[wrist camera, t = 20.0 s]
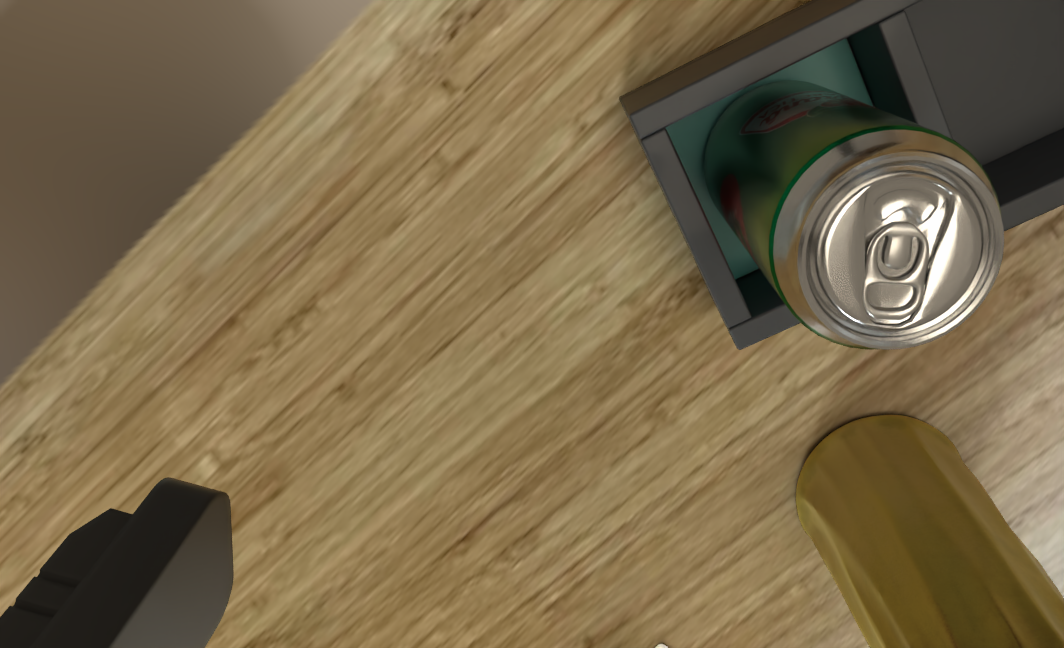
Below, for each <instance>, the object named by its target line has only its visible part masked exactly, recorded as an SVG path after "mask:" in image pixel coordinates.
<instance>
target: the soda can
mask: <svg viewBox="0 0 1064 648" xmlns="http://www.w3.org/2000/svg"><path fill="white" fill-rule="evenodd" d="M704 175H705V182H706V186H707V189H708V192H709V195H710V197H711V199H712V201H713V203H714V205H715V207H716V208H717V209H718V211H719V212H720V214H721V215H722V217H723V218H724V219H725V221H726V222H727V224H728V225H729V226H730V228H731V229H732V231H733V232H734V233H735V235H736V236H737V238H738V239H739V240H740V242H741V243H742V245H743V246H744V247H745V249H746V250H747V252H748V253H749V255H750V256H751V257H752V259H753V260H754V262H755V263H756V264H757V266H758V267H759V269H760V270H761V271H762V273H763V274H764V276H765V277H766V278H767V280H768V281H769V283H770V284H771V285H772V287H773V288H774V290H775V291H776V293H777V294H778V295H779V297H780V298H781V300H782V301H783V302H784V304H785V305H786V306H787V308H788V309H789V310H790V312H791V313H792V315H794V316H795V317H796V318H797V319H798V320H799V321H800V322H801V323H802V324H803V325H804V326H805V327H807V328H808V329H810V330H811V331H813V332H814V333H815V334H817V335H818V336H821V337H823V338H825V339H827V340H829V341H831V342H833V343H837V344H840V345H844V346H847V347H852V348H860V349H903V348H909V347H915V346H918V345H922V344H925V343H928V342H931V341H933V340H935V339H937V338H939V337H942V336H944V335H946V334H947V333H949V332H950V331H952V330H953V329H955V328H956V327H958V326H959V325H961V324H962V323H963V322H964V321H965V320H966V319H967V318H969V317H970V316H971V315H972V314H973V313H974V312H975V310H976V309H977V308H978V307H979V306H980V305H981V303H982V302H983V301H984V299H985V298H986V296H987V295H988V293H989V291H990V290H991V288H992V286H993V284H994V282H995V279H996V277H997V275H998V272H999V269H1000V265H1001V262H1002V257H1003V249H1004V230H1003V223H1002V219H1001V210H1000V205H999V201H998V196H997V193H996V191H995V188H994V186H993V183H992V181H991V179H990V177H989V175H988V174H987V172H986V171H985V169H984V168H983V166H982V165H981V163H980V162H979V161H978V160H977V159H976V158H975V157H974V156H973V155H972V154H971V153H970V152H969V151H968V150H967V149H965V148H964V147H963V146H961V145H960V144H959V143H957V142H956V141H955V140H953V139H951V138H949V137H947V136H945V135H943V134H941V133H939V132H936V131H934V130H931V129H929V128H926V127H923V126H921V125H918V124H916V123H913V122H911V121H908V120H906V119H903V118H901V117H898V116H896V115H893V114H891V113H888V112H886V111H883V110H880V109H878V108H875V107H873V106H870V105H868V104H865V103H863V102H860V101H858V100H855V99H853V98H850V97H848V96H845V95H842V94H840V93H837V92H835V91H832V90H830V89H827V88H825V87H822V86H820V85H816V84H813V83H810V82H805V81H797V80H784V81H777V82H772V83H768V84H765V85H762V86H759V87H756V88H754V89H753V90H751V91H749V92H747V93H745V94H744V95H742V96H741V97H740V98H738V99H737V100H736V101H734V102H733V103H732V104H731V105H730V106H729V107H728V108H727V109H726V110H725V111H724V113H723V114H722V115H721V117H720V118H719V120H718V121H717V122H716V124H715V126H714V128H713V130H712V132H711V134H710V137H709V140H708V143H707V146H706V151H705V157H704Z"/></svg>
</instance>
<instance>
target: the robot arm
mask: <svg viewBox="0 0 1064 648" xmlns="http://www.w3.org/2000/svg"><path fill="white" fill-rule="evenodd" d="M232 584H233V550H232V529H231V507H230V499H229V496H228V495H227V494H226V493H225V492H221V491H217V490H214V489H210V488H206V487H203V486H199V485H195V484H192V483H188V482H184V481H181V480H177V479H174V478H164V479H163V480H161V481H160V482H159V483H158V484H156V486H155V487H154V488H153V489H152V490H151V492H150V493H149V494H148V496H147V497H146V498H145V499H144V501H143V502H142V503H141V505H140V506H139V507H138V508H137V510H136V511H135V512H134V514H129V513H126V512H122V511H118V510H115V509H111V508H110V509H109V510H107V511H106V512H104V513H102V514H101V515H99V516H98V517H96V518H95V519H93V520H91V521H90V522H88V523H87V524H85V525H83V526H82V527H80V528H79V529H77V530H76V531H74V532H72V533H71V534H69V535H68V537H67V538H66V539H65V540H64V541H63V543H62V544H61V545H60V546H59V547H58V549H57V550H56V551H55V552H54V553H53V555H52V556H51V557H50V558H49V559H48V561H47V562H46V563H45V564H44V565H43V567H42V568H41V569H40V573H39V575H38V577H34V578H33V579H32V580H31V581H30V582H29V584H28V585H27V586H26V587H25V588H24V590H23V591H22V592H21V593H20V594H19V596H18V597H17V598H16V602H15V604H14V606H13V607H12V606H9V608H8V609H7V610H6V611H5V612H4V614H3V615H2V616H1V617H0V648H205V646H206V644H207V643H208V641H209V639H210V638H211V636H212V634H213V633H214V631H215V629H216V628H217V626H218V624H219V622H220V620H221V618H222V616H223V614H224V612H225V609H226V606H227V604H228V601H229V597H230V594H231V590H232Z"/></svg>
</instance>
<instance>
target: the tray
mask: <svg viewBox="0 0 1064 648" xmlns="http://www.w3.org/2000/svg"><path fill="white" fill-rule="evenodd" d="M655 648H668V647H667V646H666V645H664V644H659V645H658V646H657V647H655Z"/></svg>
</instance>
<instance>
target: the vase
mask: <svg viewBox="0 0 1064 648" xmlns="http://www.w3.org/2000/svg"><path fill="white" fill-rule="evenodd" d="M796 506H797V511H798V515H799V519H800V522H801V525H802V527H803V529H804V530H805V532H806V533H807V535H808V536H809V537H810V538H811V539H812V541H813V542H814V544H815V546H816V548H817V550H818V552H819V553H820V555H821V557H822V559H823V561H824V563H825V564H826V566H827V568H828V570H829V571H830V573H831V575H832V577H833V579H834V580H835V582H836V584H837V586H838V588H839V589H840V591H841V593H842V595H843V597H844V599H845V601H846V603H847V605H848V607H849V609H850V611H851V613H852V615H853V617H854V619H855V621H856V622H857V624H858V626H859V628H860V630H861V632H862V634H863V636H864V637H865V639H866V641H867V643H868V645H869V646H870V648H1064V598H1063V596H1062V595H1061V593H1060V592H1059V590H1058V589H1057V587H1056V586H1055V584H1054V583H1053V581H1052V580H1051V579H1050V577H1049V576H1048V575H1047V573H1046V572H1045V570H1044V568H1043V567H1042V565H1041V564H1040V563H1039V562H1038V560H1037V559H1036V558H1035V557H1034V556H1033V554H1032V553H1031V552H1030V551H1029V550H1028V549H1027V547H1026V546H1025V545H1024V544H1023V543H1022V541H1021V540H1020V539H1019V538H1018V537H1017V536H1016V534H1015V533H1014V532H1013V531H1012V530H1011V528H1010V527H1009V526H1008V524H1007V523H1006V521H1005V520H1004V518H1003V516H1002V515H1001V513H1000V512H999V510H998V509H997V507H996V506H995V504H994V502H993V501H992V499H991V498H990V496H989V495H988V494H987V492H986V491H985V489H984V488H983V486H982V485H981V484H980V482H979V481H978V479H977V478H976V477H975V476H974V475H973V473H972V472H971V471H970V470H969V469H968V467H967V466H966V465H965V464H964V463H963V461H962V459H961V457H960V455H959V453H958V451H957V449H956V447H955V446H954V444H953V443H952V442H951V441H950V440H949V439H948V438H947V437H946V436H945V435H944V434H943V433H942V432H940V431H939V430H937V429H936V428H934V427H933V426H931V425H929V424H927V423H925V422H923V421H920V420H918V419H915V418H911V417H908V416H902V415H878V416H871V417H866V418H862V419H858V420H855V421H853V422H850V423H848V424H846V425H844V426H842V427H840V428H839V429H837V430H835V431H834V432H832V433H831V434H829V435H828V436H827V437H826V438H825V439H823V440H822V441H821V442H820V443H819V444H818V445H817V446H816V448H815V449H814V450H813V451H812V452H811V454H810V455H809V457H808V458H807V460H806V462H805V464H804V466H803V468H802V470H801V473H800V476H799V479H798V483H797V488H796Z"/></svg>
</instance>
